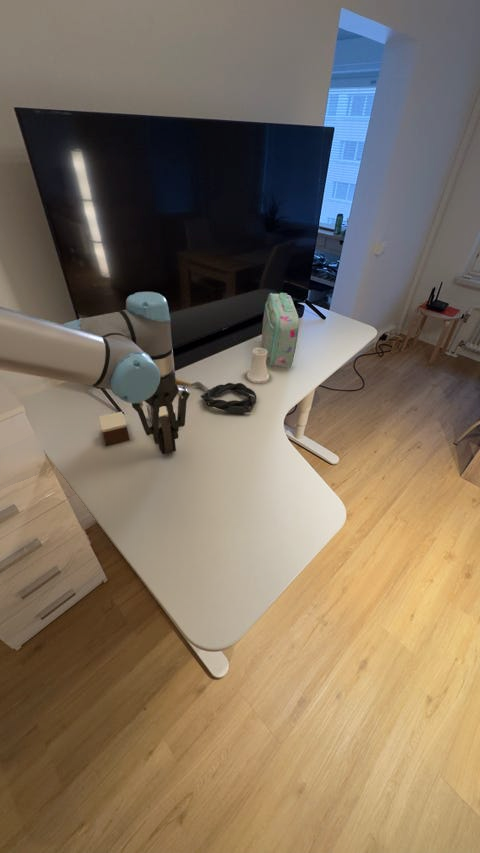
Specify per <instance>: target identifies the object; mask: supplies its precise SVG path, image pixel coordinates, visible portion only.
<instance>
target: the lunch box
mask: <svg viewBox="0 0 480 853" xmlns="http://www.w3.org/2000/svg"><path fill="white" fill-rule="evenodd" d="M263 312H264V313H263V318H262V323H261V325H260V334H261V346H262V348H264V349H266V350H267V356H266V365H267V366H269V367H273V366H274V367H282V368H283V367H284V368H291V367H292V366H293V363H294V359H295V354H296V349H297V343H298V337H299V329H300V318H299V315H298V311H297V309H296V307H295V304H294V301H293V299H292V296H291V295H289V294H288V293H287V292H280V293H273V292H270V293H269V294H268V295H267V298H266V302H265V304H264V311H263Z"/></svg>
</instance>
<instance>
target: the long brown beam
mask: <svg viewBox="0 0 480 853" xmlns="http://www.w3.org/2000/svg"><path fill="white" fill-rule="evenodd" d="M146 411H147V416H148V418H149V421H150V422H151V406H150V405H149V404H146ZM159 429H160V430H161V433H162V436H163V443H164V450H165V454H164V455H166V456H167V455H170V454H173V453H174V452H173V445H172V437H171V429H170V422H169V421H168V419H167V417H166V416H163V417H159Z"/></svg>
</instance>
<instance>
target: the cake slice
mask: <svg viewBox="0 0 480 853" xmlns="http://www.w3.org/2000/svg"><path fill="white" fill-rule="evenodd" d="M173 410H174V414H175V418H176V419H177V414H176V411H175V409H174V408H173ZM163 416H166V417H167V419H168V421H169V422H170V420H169V416H168V413H167V409H166V406H162V407H160V408H159V417H163ZM170 425H171V424H170Z"/></svg>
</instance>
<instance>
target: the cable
mask: <svg viewBox="0 0 480 853" xmlns="http://www.w3.org/2000/svg"><path fill="white" fill-rule="evenodd" d="M228 391H233V392H234V393H236V394H238V395H240V396H244V397H247V398H246V399H242V400H236V399H234V400H232V399H231V400H228V401H227V400H225V399H213V398H216V397H219V396H221V395H222V394H223V393H225V392H228ZM256 394H257V393H255V391H254V390H253V389H252V388H249V387H247V386H246V385H245V384H244V383H242V382H237V383H233V382H226V383H225V384H218V385H215V386H213V387H212V388H208V390H207V391H206V392H204V393H203V394H201V395H200V398H201V399H202V400H203V401H204V404H205V406H207V407H208V408H214V409H217V410H221V411H225V412H226V413H229V414H230V413H231V414H240V415H241V414H246V413H251V411H253V409H254V407H255V405H256V402H257V395H256Z"/></svg>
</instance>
